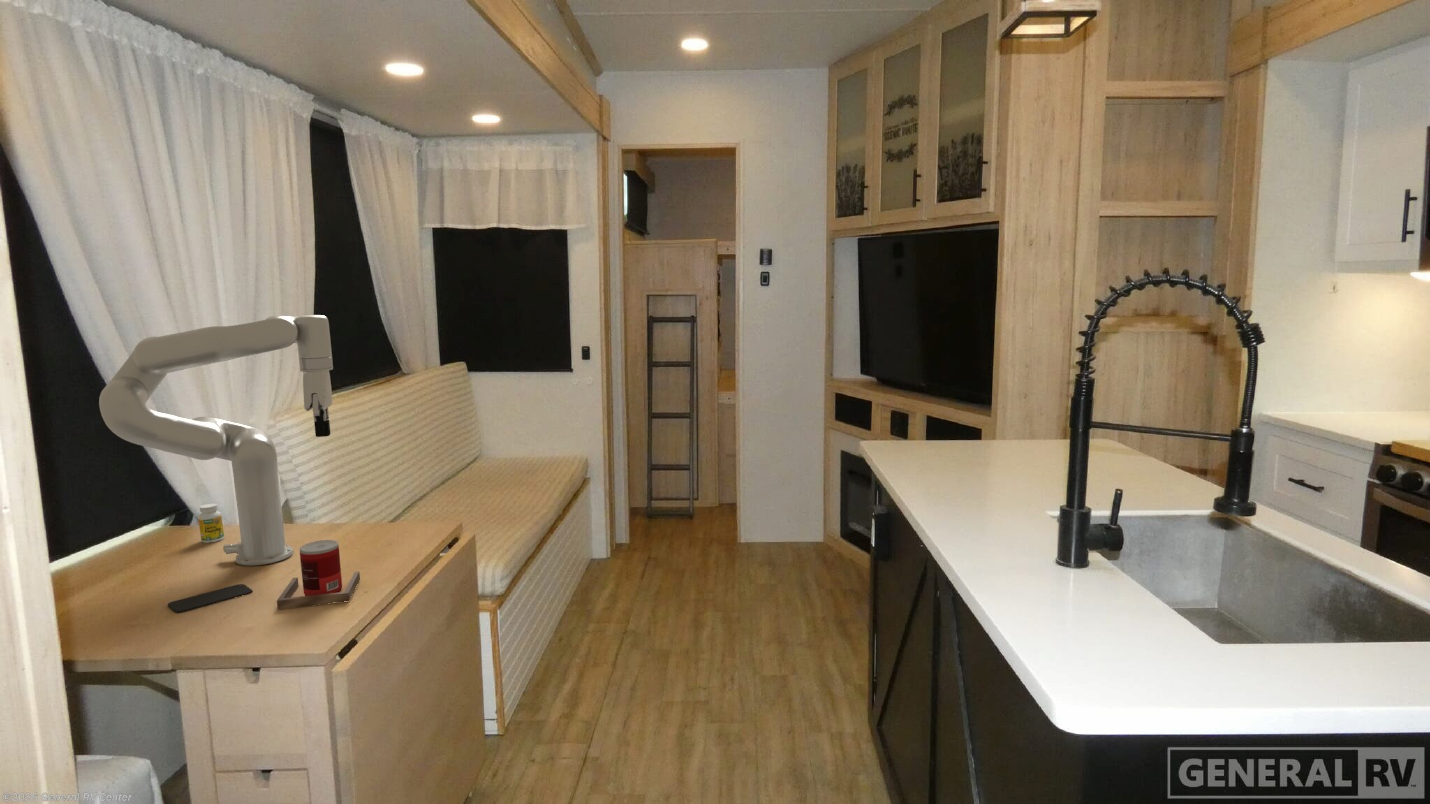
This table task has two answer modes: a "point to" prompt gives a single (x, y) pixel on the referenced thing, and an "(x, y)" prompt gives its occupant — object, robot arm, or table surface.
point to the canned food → (321, 567)
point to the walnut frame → (303, 601)
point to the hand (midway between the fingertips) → (323, 435)
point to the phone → (209, 598)
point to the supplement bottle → (210, 523)
